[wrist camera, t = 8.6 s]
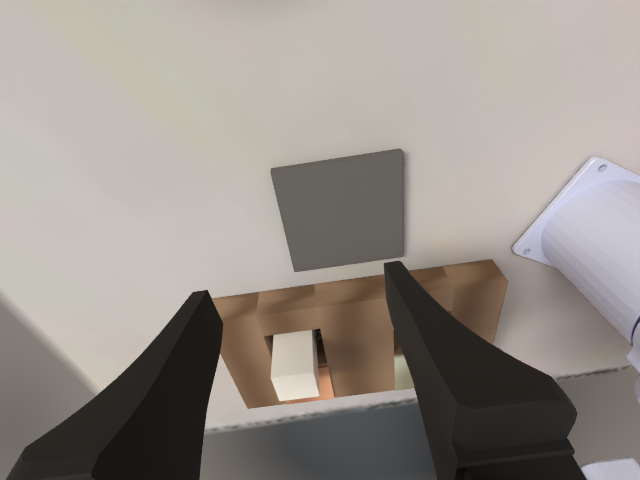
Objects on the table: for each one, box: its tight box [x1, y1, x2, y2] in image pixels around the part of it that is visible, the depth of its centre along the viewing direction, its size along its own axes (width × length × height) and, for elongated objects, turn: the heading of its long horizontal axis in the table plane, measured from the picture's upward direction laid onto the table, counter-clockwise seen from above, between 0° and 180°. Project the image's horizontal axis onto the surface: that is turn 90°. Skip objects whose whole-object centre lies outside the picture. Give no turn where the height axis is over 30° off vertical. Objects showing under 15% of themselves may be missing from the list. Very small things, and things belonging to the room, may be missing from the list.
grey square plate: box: [270, 149, 403, 272], centre depth 23 cm, size 8×8×1 cm
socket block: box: [212, 259, 508, 409], centre depth 29 cm, size 22×12×3 cm, turn 98°
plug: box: [271, 329, 320, 401], centre depth 27 cm, size 3×3×6 cm
